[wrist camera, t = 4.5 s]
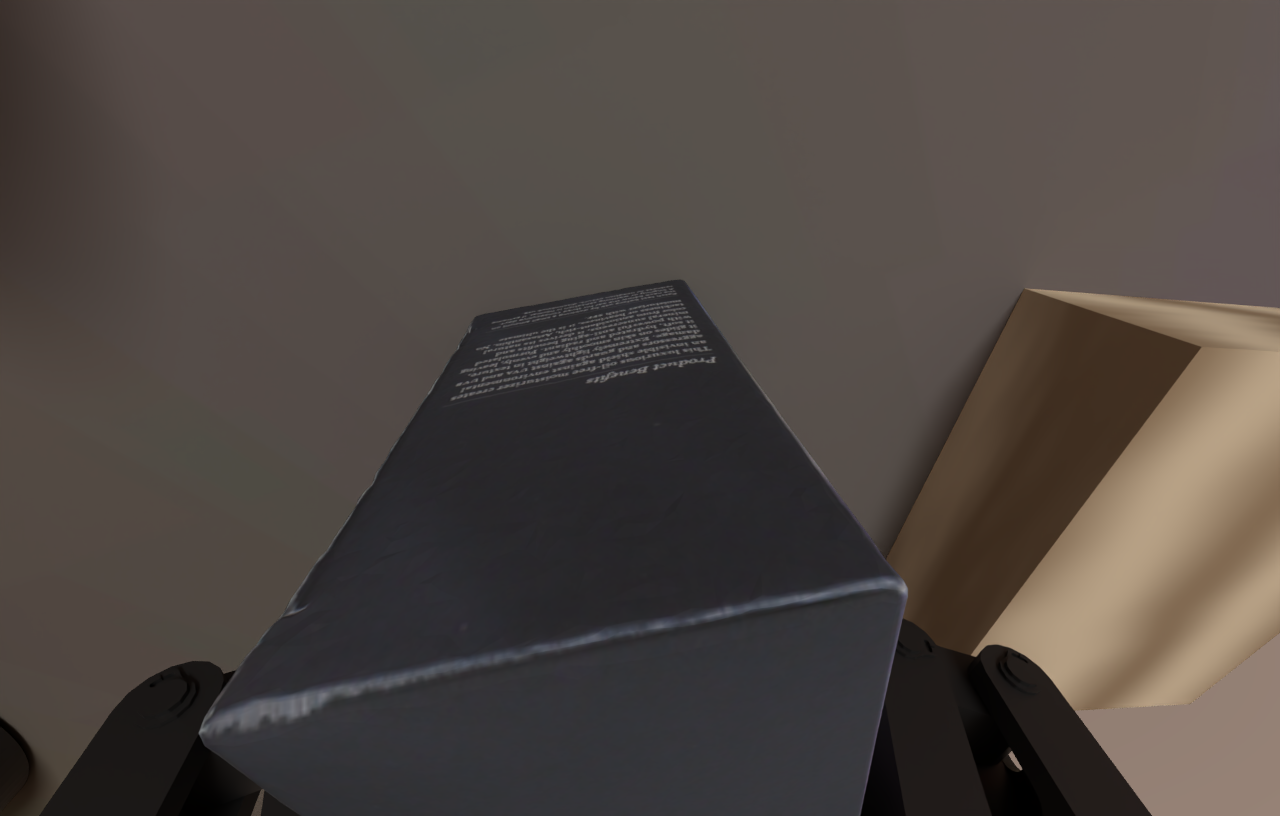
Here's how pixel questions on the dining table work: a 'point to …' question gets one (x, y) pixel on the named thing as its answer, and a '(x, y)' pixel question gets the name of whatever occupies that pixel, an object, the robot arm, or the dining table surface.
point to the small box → (580, 595)
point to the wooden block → (1109, 498)
